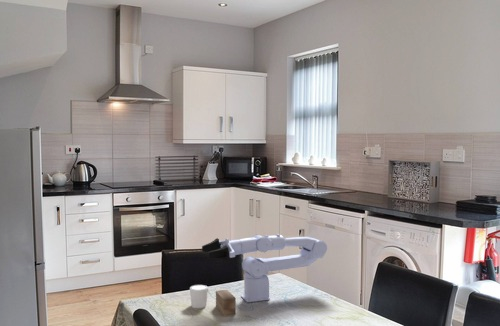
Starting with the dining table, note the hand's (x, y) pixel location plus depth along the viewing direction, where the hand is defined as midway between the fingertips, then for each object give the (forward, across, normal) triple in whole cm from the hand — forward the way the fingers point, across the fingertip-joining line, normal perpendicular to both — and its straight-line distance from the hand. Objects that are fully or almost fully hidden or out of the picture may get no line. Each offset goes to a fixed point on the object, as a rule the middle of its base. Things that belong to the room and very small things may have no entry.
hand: (205, 252), depth 168 cm
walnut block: (-4, +9, +20) cm, 22 cm away
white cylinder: (+3, +1, +20) cm, 21 cm away
